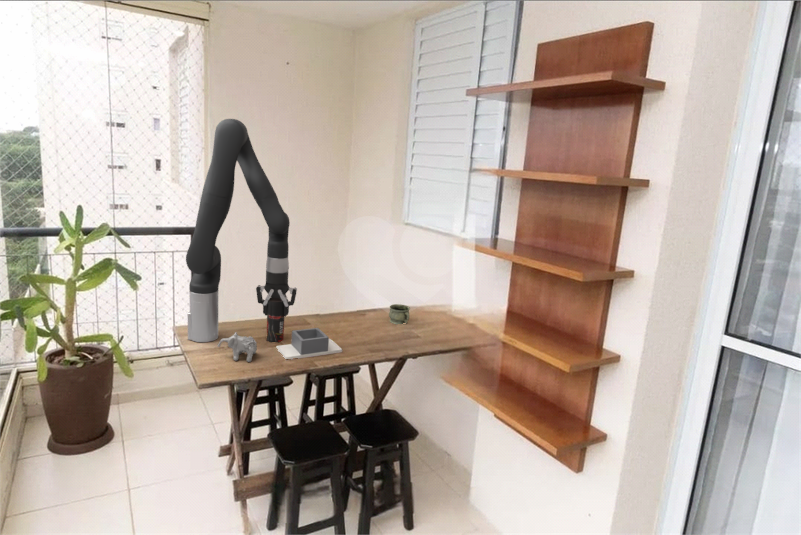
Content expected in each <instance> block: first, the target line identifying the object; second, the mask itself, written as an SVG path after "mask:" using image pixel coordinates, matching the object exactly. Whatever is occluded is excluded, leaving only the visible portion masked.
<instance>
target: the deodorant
mask: <svg viewBox="0 0 801 535" xmlns="http://www.w3.org/2000/svg"><path fill="white" fill-rule="evenodd" d="M284 306H285V305H284V302H283V301H282V299H281V298H271V297H270V299H269V300H268V303H267V316H266V337H265V338H266V339H267V340H266V341H267V342H268V341H269V343H272V342H278V343H281V341H282V342H283V341H284V337H285V336H284V335H285V317H284Z"/></svg>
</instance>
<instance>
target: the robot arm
mask: <svg viewBox="0 0 801 535" xmlns="http://www.w3.org/2000/svg"><path fill="white" fill-rule="evenodd" d="M213 139H214V140H213V147H212V156H211V160H210V164H209V168H208V170H207V174H206V176H205V177H206V178H205V181H204V185H203V188H202V192H201V197H200V202H199V207H198V212H197V217H196V222H195V228H194V231H193V236H192V238H191V239H190V240H191V241H190V244H189V246H188V249H187V252H186V255H185V264H186V265H187V268H188V269H189V270H190V272H192V277H191V280H190V281H189V284H188V285H189V311H188V313H187V341H193V342H197V343H208V342H213V341H215V340H217V339H218V338H219V285H220V281H221V277H222V276H221V272H222V271H221V270H222V255H221V252H220V250H219V248H218V247H217V245H216V243H217V238H218V236H219V233H220V231H221V229H222V226H223V224H224V223H225V221H226V219H227V216H228V214H229V211H230V209H231V204H232V201H233V196H234V190H235V189H234V188H235V173H236V172H235V171H236V165H237V163H238V164H239V168H240V169H241V172H242V174H243V177H244V180H245V182H246V185H247V187H248V190H249V192H250V193H251V195H252V197H253V199H254V200H255V203H256V204H257V206H258V208H259V209H260V211H261V214H262V216H263V219H264V221H265V223H266V225H267V227H268V241H267V250H266V251H267V252H266V254H267V255H266V265H265V268H266V269H265V284H264V285H260V284H258V285H257V286H256V288H255V292H256V300H257V303H258V304H261V305H262V313H263V315H264V316H266V317H267V303H268V300H269V299H270V297H271V298H281V299H282V301H283V302H284V305H285V306H284V318H286V317H287V316H289V312H290V306H293V305H294V304H295V303H296V302H295V301H296V296H297V293H298V292H297V291H298V288H297V287H290V285H289V269H290V265H289V264H290V262H289V231H290V230H289V229H290V228H289V227H290V226H291V225H290V218H289V215H288V214H287V213H286V212H285V210H284V209H283V207H282V205H281V204H280V202H279V199H278V195H277V193H276V191H275V188H273V185H272V183H271V181H270V180H269V178H268V176H267V175H266V172H265V171H264V168H262V165H261V163H260V161H259V159H258V158H257V154H256V153H255V150H254V147H253V144H252V142H251V138H250V136H249V132H248V128H247V127H246V125H245V124H244V123H243V122H242V121H240V120H239V119H236V118H225V119H223V120H221V121H220V122H219V123H218V124H217V125H216V126H215V130H214V138H213ZM263 291H265V292H266V294H267V295H266V297H265V298H264V299H263ZM288 292H289V294H291V297H290V301H289V298H288V295H287V293H288Z"/></svg>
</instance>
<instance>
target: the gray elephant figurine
mask: <svg viewBox="0 0 801 535" xmlns="http://www.w3.org/2000/svg"><path fill="white" fill-rule="evenodd" d="M223 342H226V343H227V346H228V348H230V349H232V355H233V358H232V359H233V361H235V362H236V361H239V359H240V357H239V355H241V354H245V353H246V354H247V356H246V362H248V363H251V362H252V359H253V355H256V353H257V350H258V346H257V344H258V342H257V341H256V340H255V338H254V337H252V336H248V337H247V336H241V335H238V332H237V331H235V332H234V334H232V335H231V336H230V337H225V338H221V339H220V340H219V343H217V347H218V348H220V347H221V344H222V343H223Z"/></svg>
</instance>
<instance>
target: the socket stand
mask: <svg viewBox="0 0 801 535" xmlns="http://www.w3.org/2000/svg"><path fill="white" fill-rule="evenodd" d="M275 348H277V349H278V350H277V349H276V350H277V351H278V353H279V352H280V353H281V354H282V355H283V356H282V355H281V354H280V353H279V354H280V355H281V356H282V357H284V358H285V359H291V360H294V359H293V358H298V359H304V358H310V357H318V356H325V355H332V354H338V353H343V349H342V348H341V346H339V345H338V344H337V343H336V342H335V341H333V340H332V339H331V338H330V337H329V336H328V335H326V333H325V332H324V331H322V330H321V329H320V328H319V327H313V328H303V329H294V330H292V331H291V343H289V344H281V345H276V347H275ZM284 358H283V359H284ZM285 359H284V360H285Z"/></svg>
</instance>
